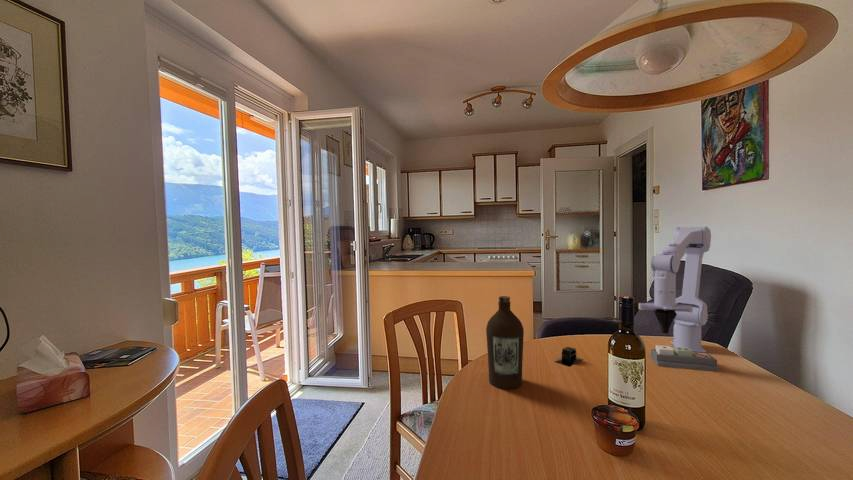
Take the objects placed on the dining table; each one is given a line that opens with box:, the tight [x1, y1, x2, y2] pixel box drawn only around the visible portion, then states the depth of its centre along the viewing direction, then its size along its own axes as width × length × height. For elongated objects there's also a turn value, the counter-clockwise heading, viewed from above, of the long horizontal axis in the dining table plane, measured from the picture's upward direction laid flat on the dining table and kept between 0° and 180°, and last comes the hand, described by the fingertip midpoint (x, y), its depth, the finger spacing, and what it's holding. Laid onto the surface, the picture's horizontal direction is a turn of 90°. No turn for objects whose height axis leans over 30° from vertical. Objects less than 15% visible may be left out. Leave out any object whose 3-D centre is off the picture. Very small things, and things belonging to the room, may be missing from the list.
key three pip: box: [692, 351, 712, 359], centre depth 109 cm, size 4×4×2 cm
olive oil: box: [485, 295, 525, 390], centre depth 100 cm, size 11×11×25 cm
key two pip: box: [672, 345, 694, 357], centre depth 111 cm, size 4×4×2 cm
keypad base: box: [649, 348, 720, 372], centre depth 111 cm, size 8×16×3 cm, turn 72°
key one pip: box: [655, 344, 674, 356], centre depth 112 cm, size 4×4×2 cm
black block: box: [554, 346, 584, 368], centre depth 115 cm, size 12×7×5 cm, turn 128°
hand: (664, 332), depth 112 cm, fingers closed
